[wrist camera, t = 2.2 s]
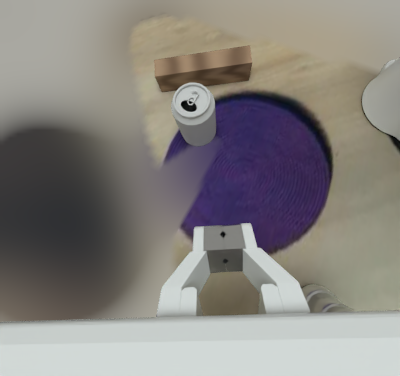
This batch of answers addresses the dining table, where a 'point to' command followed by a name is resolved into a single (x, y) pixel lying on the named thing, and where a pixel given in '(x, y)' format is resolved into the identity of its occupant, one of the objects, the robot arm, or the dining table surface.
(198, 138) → the can
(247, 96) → the dining table surface
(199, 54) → the wooden block
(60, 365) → the robot arm
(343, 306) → the plastic bottle
